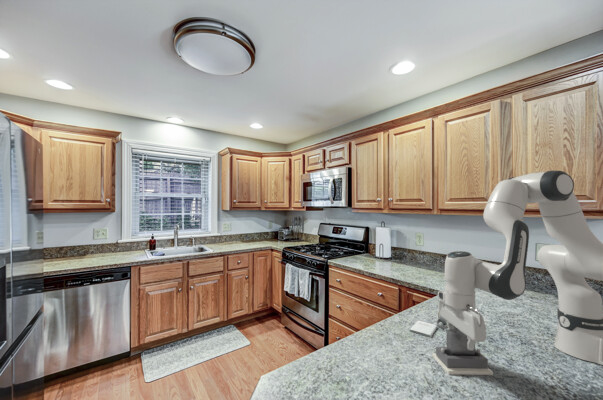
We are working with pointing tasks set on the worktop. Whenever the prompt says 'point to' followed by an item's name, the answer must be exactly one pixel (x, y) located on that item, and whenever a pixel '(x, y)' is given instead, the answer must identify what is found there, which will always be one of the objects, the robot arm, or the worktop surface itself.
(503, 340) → the worktop surface
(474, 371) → the dock
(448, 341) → the block
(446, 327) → the ceramic mug
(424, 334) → the external hard drive
